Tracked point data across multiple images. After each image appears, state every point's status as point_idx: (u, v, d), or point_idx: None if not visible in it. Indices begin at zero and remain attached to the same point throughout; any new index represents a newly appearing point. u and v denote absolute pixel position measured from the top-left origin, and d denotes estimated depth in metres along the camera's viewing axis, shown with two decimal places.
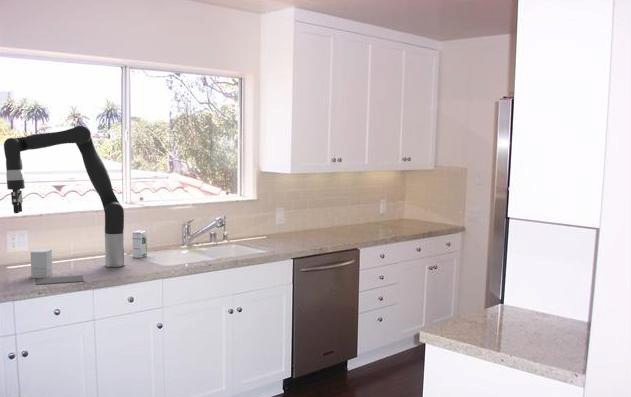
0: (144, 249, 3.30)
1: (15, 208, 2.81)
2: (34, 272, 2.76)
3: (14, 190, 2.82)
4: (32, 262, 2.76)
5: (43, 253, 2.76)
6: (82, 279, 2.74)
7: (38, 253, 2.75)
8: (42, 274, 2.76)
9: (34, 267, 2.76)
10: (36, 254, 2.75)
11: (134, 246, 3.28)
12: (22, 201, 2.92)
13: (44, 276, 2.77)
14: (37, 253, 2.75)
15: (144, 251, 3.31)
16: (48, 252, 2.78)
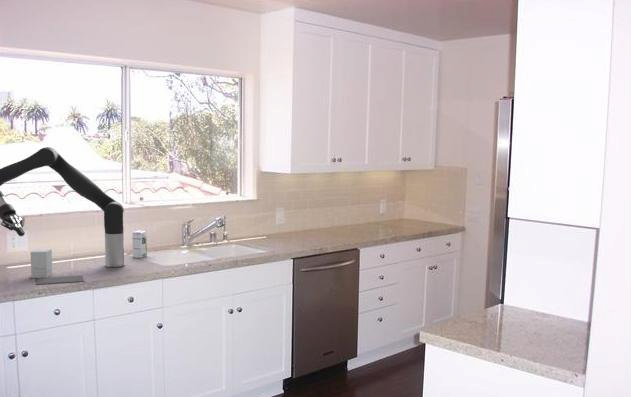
0: (144, 249, 3.30)
1: (17, 231, 2.82)
2: (34, 272, 2.76)
3: (2, 217, 2.82)
4: (32, 262, 2.76)
5: (43, 253, 2.76)
6: (82, 279, 2.74)
7: (38, 253, 2.75)
8: (42, 274, 2.76)
9: (34, 267, 2.76)
10: (36, 254, 2.75)
11: (134, 246, 3.28)
12: (22, 224, 2.85)
13: (44, 276, 2.77)
14: (37, 253, 2.75)
15: (144, 251, 3.31)
16: (48, 252, 2.78)
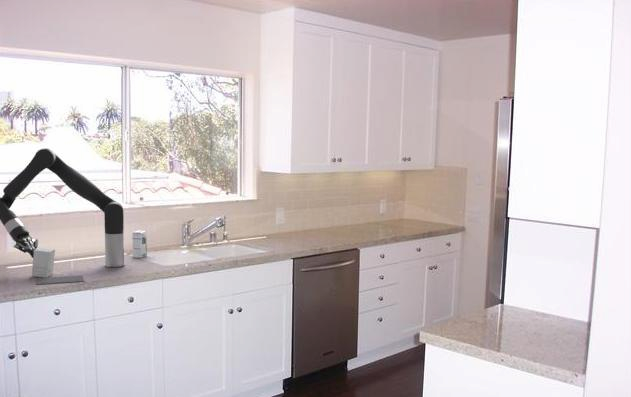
0: (144, 250, 3.30)
1: (30, 254, 2.80)
2: (35, 271, 2.76)
3: (15, 239, 2.80)
4: (34, 261, 2.76)
5: (46, 253, 2.76)
6: (82, 279, 2.74)
7: (41, 252, 2.75)
8: (43, 273, 2.76)
9: (35, 265, 2.76)
10: (39, 253, 2.75)
11: (134, 246, 3.28)
12: (35, 246, 2.83)
13: (44, 276, 2.77)
14: (41, 252, 2.75)
15: (144, 251, 3.31)
16: (51, 252, 2.78)
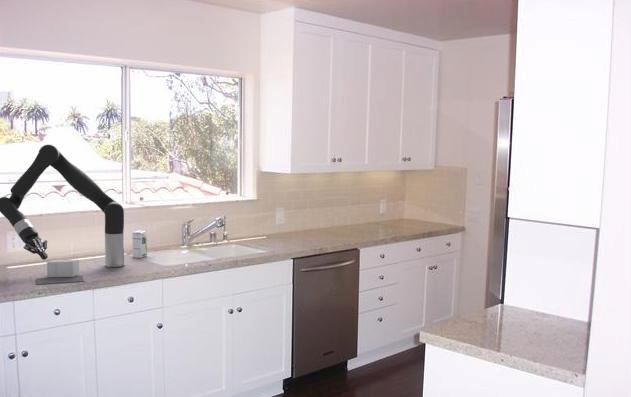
0: (144, 250, 3.30)
1: (40, 255, 2.78)
2: (51, 265, 2.77)
3: (25, 240, 2.77)
4: (61, 263, 2.77)
5: (71, 274, 2.77)
6: (82, 279, 2.74)
7: (71, 269, 2.77)
8: (50, 273, 2.77)
9: (57, 265, 2.77)
10: (70, 267, 2.77)
11: (134, 246, 3.28)
12: (45, 247, 2.81)
13: (48, 275, 2.77)
14: (71, 269, 2.77)
15: (144, 251, 3.31)
16: None
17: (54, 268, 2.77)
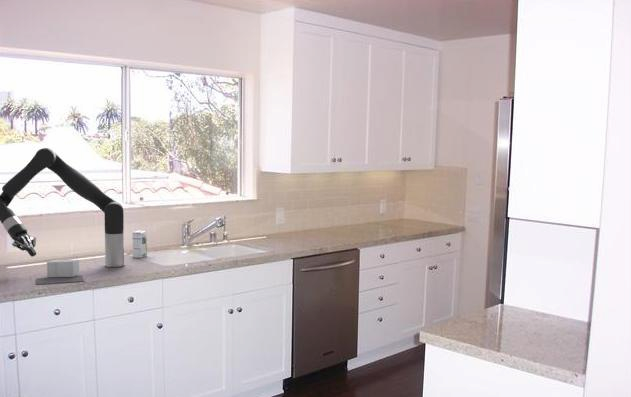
0: (144, 249, 3.30)
1: (29, 252, 2.80)
2: (51, 265, 2.77)
3: (13, 237, 2.79)
4: (61, 263, 2.77)
5: (71, 274, 2.77)
6: (82, 279, 2.74)
7: (71, 269, 2.77)
8: (50, 273, 2.77)
9: (57, 265, 2.77)
10: (70, 267, 2.77)
11: (134, 246, 3.28)
12: (34, 244, 2.83)
13: (48, 275, 2.77)
14: (71, 269, 2.77)
15: (144, 251, 3.31)
16: None
17: (54, 268, 2.77)
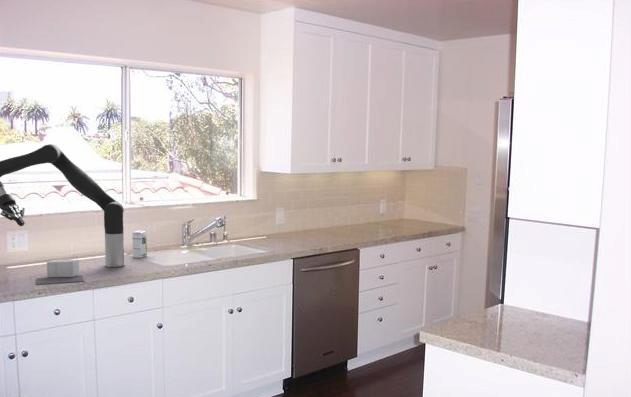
0: (144, 250, 3.30)
1: (17, 221, 2.81)
2: (51, 265, 2.77)
3: (2, 207, 2.81)
4: (61, 263, 2.77)
5: (71, 274, 2.77)
6: (82, 279, 2.74)
7: (71, 269, 2.77)
8: (50, 273, 2.77)
9: (57, 265, 2.77)
10: (70, 267, 2.77)
11: (134, 246, 3.28)
12: (22, 214, 2.85)
13: (48, 275, 2.77)
14: (71, 269, 2.77)
15: (144, 251, 3.31)
16: None
17: (54, 268, 2.77)
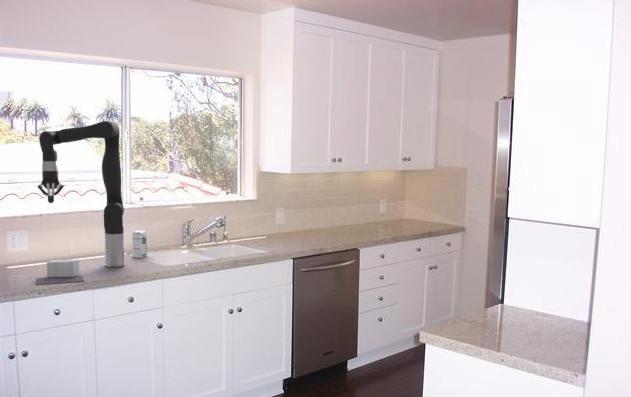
0: (144, 249, 3.30)
1: None
2: (51, 265, 2.77)
3: (42, 180, 3.04)
4: (61, 263, 2.77)
5: (71, 274, 2.77)
6: (82, 279, 2.74)
7: (71, 269, 2.77)
8: (50, 273, 2.77)
9: (57, 265, 2.77)
10: (70, 267, 2.77)
11: (134, 246, 3.28)
12: (55, 193, 3.05)
13: (48, 275, 2.77)
14: (71, 269, 2.77)
15: (144, 251, 3.31)
16: None
17: (54, 268, 2.77)
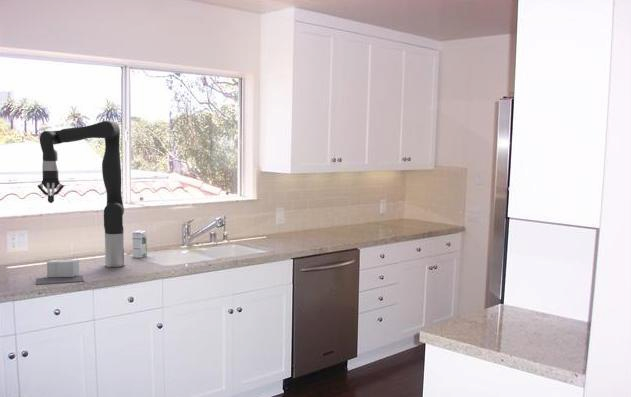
0: (144, 250, 3.30)
1: (48, 198, 3.05)
2: (51, 265, 2.77)
3: None
4: (61, 263, 2.77)
5: (71, 274, 2.77)
6: (82, 279, 2.74)
7: (71, 269, 2.77)
8: (50, 273, 2.77)
9: (57, 265, 2.77)
10: (70, 267, 2.77)
11: (134, 246, 3.28)
12: (55, 193, 3.05)
13: (48, 275, 2.77)
14: (71, 269, 2.77)
15: (144, 251, 3.31)
16: None
17: (54, 268, 2.77)
